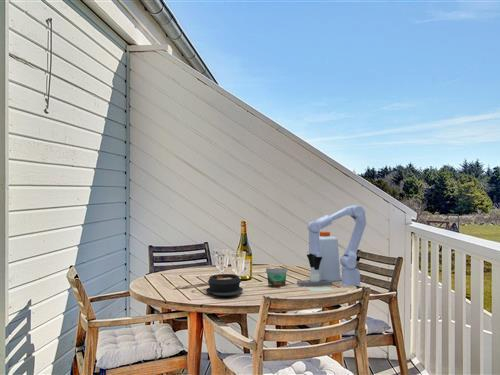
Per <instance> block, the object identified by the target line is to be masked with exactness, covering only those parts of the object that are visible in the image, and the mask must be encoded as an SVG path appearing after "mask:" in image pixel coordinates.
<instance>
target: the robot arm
mask: <svg viewBox="0 0 500 375" xmlns="http://www.w3.org/2000/svg"><path fill="white" fill-rule="evenodd" d="M345 216H350V217H351V218H352V219H353V221H354V222H355V225H354V227H353V231H352V234H351V236H350V238H349V239H350V240H349V243H348V246H347V249H346V250H345V251H344V252H343V254H342V256H341V257H340V258H339V264H340V266H341V282H339V281H338V282H339V284H340V285H342V286H345V287H347V286H348V287H349V286H351V287H352V286H354V287H358V286H362V285H361V271H360V269H359V268H357V267H356V266H357V258H358V255H357V252H358V249H359V246H360V242H361V241H362V236H363V234H364V231H365V228H366V225H367V219H366V210H365V208H364V207H363V206H361V205H359V204H358V205H355V204H351V205H349V206H345V207H344V208H341V209H340V210H338V211H336V212H334V213H332V214H331V215H328V214H323V215H322V217H319V218H317V219H314V220H313V221H310V222H308V224H307V227H306V228H307V230H308V251H306V253H307V254H306V257H307V260H308V262H309V267H310V268H311V267H314V269H315V270H319V266H320V262H321V260H322V257H320V249H319V236H320V232H321V230H322V229H324V228H327V227H329V226H330V225H332V223H333V221H335V220H338V219H341V218H342V217H345Z"/></svg>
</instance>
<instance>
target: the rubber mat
mask: <svg viewBox="0 0 500 375" xmlns="http://www.w3.org/2000/svg"><path fill="white" fill-rule="evenodd" d="M307 289H308V290H310V292H323V291H334V289H333V288H331V287H330V286H308V287H307Z"/></svg>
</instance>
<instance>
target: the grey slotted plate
mask: <svg viewBox="0 0 500 375" xmlns="http://www.w3.org/2000/svg"><path fill="white" fill-rule="evenodd" d="M296 284H297V286H299V287H301V288H302V287H330V286H333V281H330V280H329V279H325V280H319V282H310V279H301V280H296Z"/></svg>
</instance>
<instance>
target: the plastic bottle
mask: <svg viewBox="0 0 500 375" xmlns="http://www.w3.org/2000/svg"><path fill="white" fill-rule="evenodd" d="M319 249H320V257H322V260H321V262H320V266H319V270H315V269H314V267H310V273H318V274H319V280H325V279H329V280H330V281H332V282H339V281H341V280H342V275H341V267H340V266H341V263H340V254H339V242H338V238H337V237H335V236H333V235H331V232H330V231H319Z"/></svg>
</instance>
